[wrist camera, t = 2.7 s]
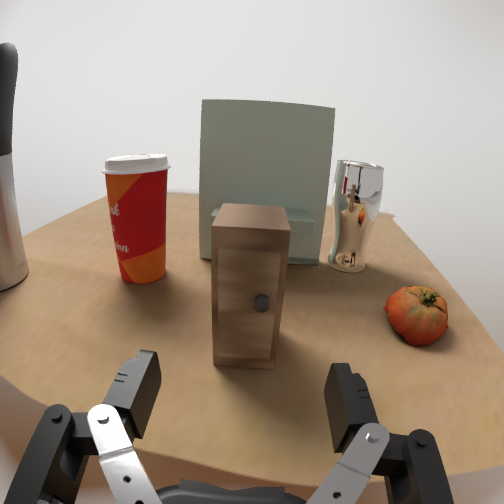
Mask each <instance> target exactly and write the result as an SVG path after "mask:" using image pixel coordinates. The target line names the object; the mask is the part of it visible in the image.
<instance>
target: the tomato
mask: <svg viewBox="0 0 504 504" xmlns="http://www.w3.org/2000/svg"><path fill="white" fill-rule="evenodd" d="M384 310H385V312H386V313H387V315H388V319H390V322H391V325H394V328H395V331H397V332H398V333H399V334H400V335H402V336H404V338H405V340H406V341H407V342H408V343H409V345H412V346H414V347H417V345H418V346H425V345H428V344H430V343H432V342H433V341H435V340H436V339H437V338H438V339H439V337H441V336H442V334H443V333H444V332H445V331H446V330H447V328H448V325H447V321H448V314H447V304H446V301H445V300H444V299H443V298H442V297H441V296H440V295H439V294H438V293H437V292H436V291H435V290H433V289H431V288H429V287H426V286H425V287H423V286H413V287H403V288H401V289H400V290H398V291H396V292H395V293H394V294H393V295H392V296H390V297H389V298H388V300H387V302H386V305H385V307H384Z"/></svg>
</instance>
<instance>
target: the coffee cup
mask: <svg viewBox="0 0 504 504" xmlns="http://www.w3.org/2000/svg"><path fill="white" fill-rule="evenodd" d="M169 168H170V165H169V164H168V163H167V156H166V155H163V154H150V155H147V154H139V155H128V156H120V157H113V158H109V159H107V160H106V162H105V169H103V172H102V173H105V177H106V186H107V195H108V203H109V210H110V217H111V224H112V230H113V236H114V242H115V248H116V253H117V258H118V263H119V267H120V272H121V275H122V278H123V279H124V280H125V281H126V282H129V283H132V284H147V283H152V282H155V281H157V280H159V279H161V278H162V277H163V276H164V274H165V259H166V195H167V171H168V169H169Z"/></svg>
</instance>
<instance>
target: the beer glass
mask: <svg viewBox="0 0 504 504" xmlns="http://www.w3.org/2000/svg"><path fill="white" fill-rule="evenodd" d="M383 170H384V168H383V167H380V166H377V165H373V164H368V163H362V162H356V161H348V160H338V162H337V169H336V173H335V178H334V185H333V195H332V221H333V235H332V242H331V246H330V249H329V252H328V255H327V258H326V262H327V264H328V265H329V266H330V267H332V268H334V269H336V270H339V271H342V272H348V273H356V272H361V271H363V270H364V269H365V254H366V247H367V242H368V239H369V236H370V233H371V231H372V228H373V225H374V223H375V220H376V217H377V214H378V210H379V207H380V201H381V195H382V186H383Z"/></svg>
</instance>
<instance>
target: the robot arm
mask: <svg viewBox="0 0 504 504" xmlns="http://www.w3.org/2000/svg"><path fill="white" fill-rule="evenodd" d="M17 71H18V54H17V49H16V47H15V46H14V45H13V44H12V43H3V44H0V291H1V290H4V289H7V288H10V287H12V286H14V285H16V284H17V283H19V282H20V281H22V280H23V279H24V278H25V277H26V275H27V274H28V272H29V268H28V264H27V259H26V255H25V250H24V246H23V240H22V235H21V230H20V224H19V218H18V212H17V205H16V198H15V188H14V178H13V167H12V154H11V153H12V119H13V103H14V94H15V87H16V79H17ZM160 386H161V371H160V366H159V360H158V355H157V352H154V351H147V350H140V351H139V353H138V355H137V357H136V359H130V358H129V359H128V360H127V361H126V362H125V363H124V364H122V366H121V367H120V369H119V371H118V375H116V377H115V380H114V381H113V383H112V385H111V387H110V389H109V391H108V393H107V395H106V397H105V399H104V401H103V403H102V405H98V406H96V407H94V408H92V409H91V410H90V412H88V413H71V412H70V410H69V409H68V408H67V407H66V406H64V405H61V404H55V405H52V406H50V407H49V408H47V409H46V411H45V412H44V414H43V416H42V418H41V420H40V422H39V424H38V426H37V428H36V430H35V432H34V434H33V436H32V438H31V440H30V442H29V445H28V447H27V449H26V451H25V453H24V455H23V458H22V460H21V462H20V464H19V467H18V469H17V471H16V474H15V476H14V478H13V481H12V483H11V486H10V488H9V491H8V494H7V496H6V499H5V501H4V504H74V503H75V500H76V496H77V493H78V490H79V487H80V484H81V480H82V477H83V474H84V471H85V468H86V465H87V462H88V459H89V456H90V455H99V456H100V457H99V461H100V464H101V467H102V469H103V472H104V474H105V477H106V479H107V481H108V484H109V486H110V488H111V491H112V493H113V495H114V497H115V499H116V501H117V504H355V502H356V501H357V499H358V497H359V496H360V494H361V493H362V491H363V489H364V488H365V486H366V485H367V483H368V481H369V479H370V475H379V476H384V479H385V484H386V490H387V497H388V503H389V504H454V502H453V498H452V494H451V490H450V487H449V483H448V479H447V476H446V473H445V469H444V466H443V463H442V459H441V456H440V453H439V450H438V447H437V444H436V441H435V438H434V436H433V435H432V434H431V433H430V432H428V431H426V430H423V429H417V430H414V431H412V432H411V433H410V434H409V435H408V436H406V435H398V434H392V433H389V432H388V430H387V429H386V428H385V427H384V426H382V425H380V424H379V422H378V419H377V416H376V412H375V409H374V406H373V403H372V400H371V398H370V394H369V391H368V388H367V385H366V382H365V380H364V379H363V378H362V377H361V376H360V375H359V373H353V374H352V372H351V369H350V366H349V364H348V363H332V364H331V367H330V370H329V374H328V377H327V381H326V384H325V389H324V397H325V402H326V408H327V413H328V419H329V424H330V430H331V436H332V442H333V448H334V453H340V452H342V457H341V459H340V460H339V461H338V462H337V464H336V465H335V466H334V468H333V469H332V470H331V472H330V473H329V474H328V476H327V477H326V478H325V480H324V481H323V482H322V484H321V485H320V486H319V488H318V489H317V490H316V492H315V493H314V494H313V495H312V496H311V498H310V499H309V500H308V501H305V500H304V499H302V498H300V497H298V496H295V495H293V494H290V493H285V492H284V487H254V488H248V489H241V490H235V491H231V490H227V489H223V488H220V487H217V486H214V485H211V484H208V483H205V482H197V481H190V480H183V479H181V480H180V485H171V486H167V487H163V488H161V489H158V490H156V489H155V487H154V485H153V484H152V482H151V480H150V478H149V477H148V475H147V473H146V471H145V469H144V467H143V465H142V463H141V462H140V459H139V457H138V455H137V453H136V451H135V449H134V447H133V445H132V444H133V441H134V438H138V439H142V438H143V435H144V432H145V429H146V426H147V423H148V420H149V418H150V415H151V412H152V409H153V406H154V403H155V400H156V397H157V394H158V392H159V389H160Z"/></svg>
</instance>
